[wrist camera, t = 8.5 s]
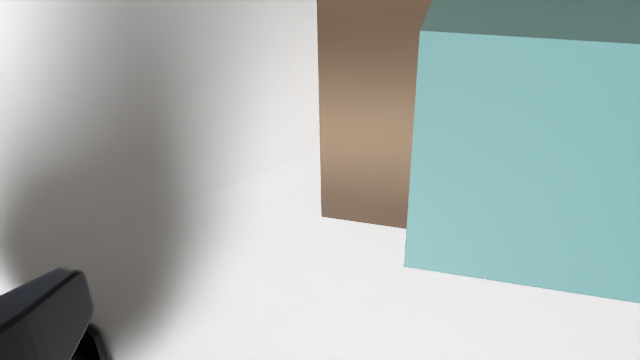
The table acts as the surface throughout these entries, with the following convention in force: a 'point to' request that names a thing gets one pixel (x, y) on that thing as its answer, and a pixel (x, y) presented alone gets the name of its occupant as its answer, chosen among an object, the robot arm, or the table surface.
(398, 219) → the base
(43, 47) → the table surface
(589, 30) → the block
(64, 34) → the table surface
